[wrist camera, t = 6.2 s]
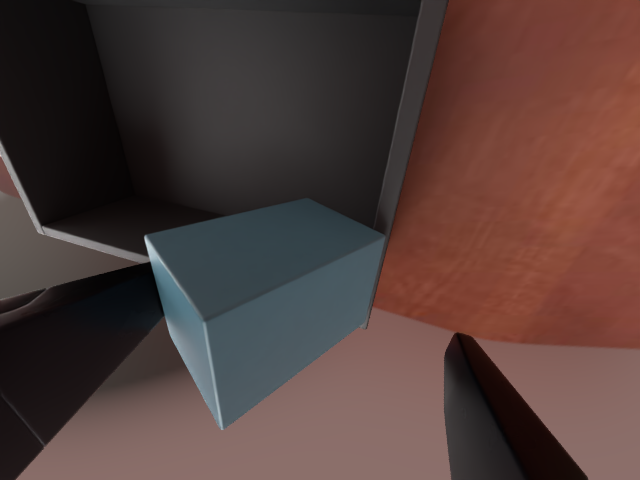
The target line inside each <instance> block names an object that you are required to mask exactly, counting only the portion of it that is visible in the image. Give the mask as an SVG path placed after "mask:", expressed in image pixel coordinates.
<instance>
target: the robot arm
mask: <svg viewBox="0 0 640 480" xmlns="http://www.w3.org/2000/svg"><path fill="white" fill-rule="evenodd" d="M164 316H165V314H164V311H163V307H162V303H161V299H160V296H159V292H158V288H157V284H156V281H155V277H154V273H153V269H152V265H151V262H146V263H142V264H139V265H135V266H131V267H127V268H123V269H119V270H115V271H111V272H107V273H104V274H99V275H96V276H91V277H88V278H84V279H80V280H76V281H72V282H68V283H64V284H60V285H56V286H53V287H49V288H47V289H46V288H44V289H40V290H37V291H33V292H29V293H25V294H20V295H16V296H12V297H8V298H4V299H0V480H16V479H17V477H18V476H19V475H20V474H21V473H22V472H23V471H24V470H25V469H26V468H27V466H28V465H29V464H30V463H31V462H32V461H33V460H34V459H35V458H36V457H37V456H38V454H39V453H40V452H41V451H42V450H43V449H44V447H45V446H46V445H47V444H48V443H49V442H50V441H51V440H52V439H53V438H54V437H55V436H56V434H57V433H58V432H59V431H60V430H61V429H62V428H63V427H64V426H65V425H66V423H67V422H68V421H69V420H70V419H71V418H72V417H73V416H74V415H75V414H76V413H77V412H78V410H79V409H80V408H81V407H82V406H83V405H84V404H85V403H86V401H88V399H89V398H90V397H91V396H92V395H93V394H94V393H95V392H96V391H97V390H98V388H99V387H100V386H101V385H102V384H103V383H104V382H105V381H106V380H107V379H108V378H109V376H110V375H111V374H112V373H113V372H114V371H115V370H116V369H117V368H118V367H119V366H120V364H121V363H122V362H123V361H124V360H125V359H126V358H127V357H128V356H129V355H130V354H131V352H132V351H133V350H134V349H135V348H136V347H137V346H138V345H139V344H140V343H141V342H142V340H143V339H144V338H145V337H146V336H147V335H148V334H149V332H151V331H152V330H153V328H154V327H155V326H156V325H157V324H158V323H159V322H160V321H161V319H162V318H163V317H164ZM444 414H445V426H446V434H447V444H448V453H449V462H450V471H451V480H588V477H587V476H586V475H585V473H584V472H583V471H582V470H581V469H580V468H579V466H578V465H577V464H576V462H575V461H574V460H573V459H572V458H571V456H570V455H569V454H568V453H567V452H566V450H565V449H564V448H563V447H562V445H561V444H560V443H559V442H558V441H557V439H556V438H555V437H554V436H553V435H552V434H551V432H550V431H549V430H548V428H547V427H546V426H545V425H544V424H543V422H542V421H541V420H540V419H539V418H538V416H537V415H536V414H535V413H534V412H533V410H532V409H531V408H530V407H529V405H528V404H527V403H526V402H525V400H524V399H523V398H522V397H521V396H520V394H519V393H518V392H517V391H516V389H515V388H514V387H513V386H512V385H511V383H510V382H509V381H508V380H507V379H506V377H505V376H504V375H503V374H502V372H501V371H500V370H499V369H498V368H497V366H496V365H495V364H494V363H493V361H491V359H490V358H489V357H488V356H487V354H486V353H485V352H484V351H483V349H482V348H481V347H480V346H479V344H478V343H477V342H476V341H475V340H474V338H473V337H471V336H469V335H466V334H462V333H459V332H457V333H455V334H454V335H453V337H452V339H451V341H450V343H449V345H448V347H447V349H446V352H445V357H444Z"/></svg>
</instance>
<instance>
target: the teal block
mask: <svg viewBox="0 0 640 480" xmlns="http://www.w3.org/2000/svg"><path fill="white" fill-rule="evenodd" d="M385 238H386V237H385V235H384V234H381V233H379V232H377V231H375V230H373V229H371V228H369V227H367V226H365V225H363V224H361V223H359V222H357V221H354V220H352V219H350V218H348V217H346V216H344V215H342V214H340V213H338V212H336V211H334V210H332V209H330V208H327V207H325V206H323V205H321V204H319V203H317V202H315V201H313V200H311V199H309V198H304V199H300V200H296V201H291V202H287V203H282V204H278V205H274V206H269V207H265V208H261V209H256V210H252V211H248V212H243V213H239V214H235V215H230V216H226V217H222V218H217V219H213V220H208V221H204V222H200V223H195V224H191V225H187V226H182V227H178V228H174V229H169V230H165V231H161V232H156V233H152V234H148V235H145V237H144V239H145V243H146V247H147V250H148V254H149V258H150V262H151V265H152V269H153V273H154V277H155V281H156V284H157V288H158V292H159V296H160V299H161V303H162V307H163V311H164V314H165V318H166V322H167V325H168V329H169V333H170V336H171V338H172V340H173V342H174V343H175V345H176V347H177V349H178V351H179V353H180V355H181V357H182V358H183V360H184V362H185V364H186V366H187V368H188V370H189V371H190V373H191V375H192V377H193V379H194V381H195V383H196V385H197V387H198V388H199V390H200V392H201V394H202V396H203V398H204V400H205V402H206V403H207V405H208V407H209V409H210V411H211V413H212V415H213V416H214V418H215V420H216V422H217V424H218V426H219V428H220V429H222V430H223V429H225V428H227V427H228V426H229V425H230V424H232V423H233V422H234V421H236V420H237V419H238V418H240V417H241V416H242V415H244V414H245V413H246V412H247V411H249V410H250V409H251V408H253V407H254V406H255V405H257V404H258V403H259V402H261V401H262V400H263V399H265V398H266V397H267V396H269V395H270V394H271V393H273V392H274V391H275V390H276V389H278V388H279V387H280V386H282V385H283V384H284V383H286V382H287V381H288V380H290V379H291V378H292V377H293V376H295V375H296V374H297V373H299V372H300V371H301V370H302V369H304V368H305V367H307V366H308V365H309V364H311V363H312V362H313V361H314V360H316V359H317V358H319V357H320V356H321V355H322V354H324V353H325V352H326V351H328V350H329V349H330V348H331V347H333V346H334V345H336V344H337V343H338V342H340V341H341V340H342V339H343V338H344V337H346V336H347V335H348V334H350V333H351V332H352V331H354V330H355V329H357V328H358V327H359V326H361V325H362V324H363V323H364V322H365V320H366V315H367V311H368V307H369V303H370V299H371V295H372V291H373V287H374V283H375V279H376V274H377V270H378V266H379V262H380V258H381V254H382V250H383V246H384V242H385Z"/></svg>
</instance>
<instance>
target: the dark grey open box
mask: <svg viewBox="0 0 640 480" xmlns="http://www.w3.org/2000/svg"><path fill="white" fill-rule="evenodd" d="M448 2H449V0H0V155H1V157H2V159H3V161H4V163H5V165H6V167H7V169H8V171H9V174H10V176H11V178H12V180H13V182H14V184H15V186H16V188H17V190H18V192H19V194H20V196H21V198H22V200H23V203H24V204H25V207H26V209H27V210H28V213H29V215H30V217H31V219H32V221H33V223H34V225H35V227H36V229H37V231H38V233H41V234H44V235H48V236H51V237H54V238H58V239H61V240H65V241H68V242H71V243H75V244H78V245H81V246H85V247H88V248H92V249H95V250H98V251H102V252H105V253H108V254H112V255H115V256H119V257H122V258H125V259H129V260H132V261H136V262H139V263H146V262H150V258H149V254H148V250H147V247H146V243H145V239H144V237H145V235H148V234H152V233H156V232H161V231H165V230H169V229H174V228H178V227H182V226H187V225H191V224H195V223H200V222H204V221H208V220H213V219H217V218H222V217H226V216H230V215H235V214H239V213H243V212H248V211H252V210H256V209H261V208H265V207H269V206H274V205H278V204H282V203H287V202H291V201H296V200H300V199H304V198H309V199H311V200H313V201H315V202H317V203H319V204H321V205H323V206H325V207H327V208H330V209H332V210H334V211H336V212H338V213H340V214H342V215H344V216H346V217H348V218H350V219H352V220H354V221H357V222H359V223H361V224H363V225H365V226H367V227H369V228H371V229H373V230H375V231H377V232H379V233H381V234H384V235H385V237H386V238H385V242H384V246H383V250H382V254H381V258H380V262H379V266H378V270H377V274H376V279H375V283H374V287H373V291H372V295H371V299H370V303H369V307H368V311H367V315H366V320H365V322H364V323H363V324H362V325H361V326H359V328H362V329H367V326H368V322H369V318H370V314H371V310H372V306H373V302H374V298H375V294H376V290H377V286H378V282H379V278H380V274H381V270H382V266H383V262H384V258H385V254H386V250H387V246H388V242H389V238H390V234H391V230H392V226H393V222H394V218H395V214H396V210H397V206H398V202H399V198H400V194H401V190H402V186H403V182H404V178H405V174H406V170H407V166H408V162H409V158H410V154H411V150H412V146H413V142H414V138H415V134H416V130H417V126H418V122H419V118H420V114H421V110H422V106H423V102H424V98H425V94H426V90H427V86H428V82H429V78H430V74H431V70H432V66H433V62H434V58H435V54H436V50H437V46H438V42H439V38H440V34H441V30H442V26H443V22H444V18H445V14H446V10H447V6H448Z"/></svg>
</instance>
